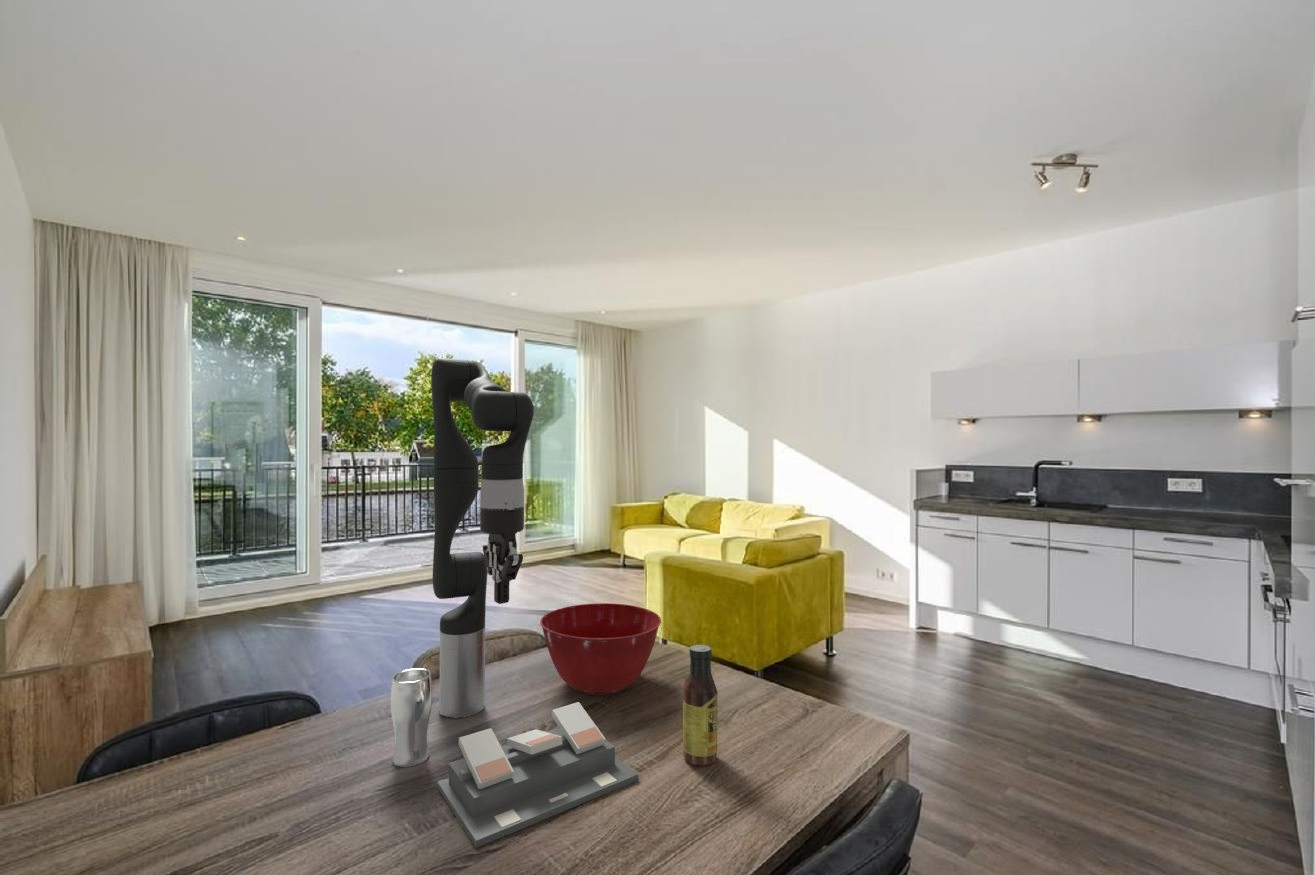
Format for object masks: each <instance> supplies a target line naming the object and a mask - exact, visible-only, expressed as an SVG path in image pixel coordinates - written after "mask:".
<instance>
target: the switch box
mask: <svg viewBox="0 0 1315 875" xmlns="http://www.w3.org/2000/svg"><path fill="white" fill-rule="evenodd" d="M597 728H598V729H599V730H600V727H598V726H597ZM546 732H547V733H551V734H554V735H558V736H562V745H559V746H556V747H553V748H550V749H547V750H544V751H541V752H538V753H535V754H532V755H531V754H529V753H526V752H523V751H520V750H518V749H515V748H512V747H509V746H508V744H507V743H506V744H504V745H500V746H501V747H502V749H503V751H504V753H505V755H506V757H507V759H508V761H509V763H510V765H511V767H512V768H513V770H514V774H513V778H510V779H507V780H505V781H502V782H499V783H496V784H493V785H491V786H488V787H485V788H482V789H480V790H479V789H478V786H477V784H476V782H475V780H474V778H473V775H472V773H471V771H470V769H469V766H468V764H467V762H466V760H465V757H463V758H460V759H457V760H454V761H451V762H449V763H447V764H448V769H447V770H448V775H447V776H448V777H446V778H443V779H441V780H437V782H436V784H437V785H436V786H437V787H436V788H437V790H438V791H439V793H440V794H441V796H442V797H443V799H444V800H445V802H446V804H447V805H448V806H449V808H450V810H451V811H452V813H453V814H454V817H456V819H457V821H458V822H459V823H460V826H461V827H462V828H463V830H464V831H465V833H466V834H467V836H468V837H469V839H470V841H471V843H474V844H473V846H475V848H476V847H477V848H479V847H481V846H484V845H486V844H488V843H491V842H493V841H496V840H498V839H500V838H503V837H505V836H504V835H506V836H508V835H510V834H513V833H515V832H517V830H518V831H519V830H522V829H524V828H527V827H530V826H531V825H532V826H533V825H534V824H537V823H538V822H542V821H544V820H546V819H548V818H552V817H553V816H556V815H559V814H560V813H563V812H565V811H568V810H570V809H573V808H575V807H577V806H579V805H583V804H584V803H588V802H590V801H591V800H594V799H596V798H598V797H602V796H603V795H605V794H609V793H610V792H611V793H612V792H613V791H616V790H618V789H621V788H623V787H624V786H627V785H631V784H632V783H635V782H637V781H639V773H637V772H636V771H635V770H633V769H632V768H631V767H630V766H628V764H626V763H625V762H623V761H622V760H621V759H620V758H618V757H617V756H616V747H615V745H613V744H612V742H609V741H608V740H605V745H602V746H599V747H597V748H594V749H591V750H588V751H585V752H583V753H580V754H576V752H575V751H574V749H573V748H572V746H571V745H570V743H569V742H568V740H567V739H566V737H565V735H564V734H563V732H562V731H561V729H560V728H559V727H557V728H553V729H550V730H547V731H546ZM495 839H496V840H495Z"/></svg>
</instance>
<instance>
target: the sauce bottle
mask: <svg viewBox="0 0 1315 875" xmlns="http://www.w3.org/2000/svg"><path fill="white" fill-rule="evenodd" d="M688 653H689V657H690V658H689V659H690V662H689V663H690V667H689V672H690V673H689V674H688V676H687V678H686V679H685V680H684V683H683V701H682V702H683V703H682V749H683V758H684V760H685V761H686V762H687V763H688V764H690V765H693V766H698V767H705V766H708V765H711V764H713V763H714V762H715V761H716V759H717V757H718V756H717V752H718V698H719V697H718V696H719V695H718V694H719V693H718V689H717V686H716V684H715V681H714V678H713V675H712V667H711V666H712V665H711V663H712V661H711V658H712V654H713V653H712V647H710V646H709V645H705V644H695V645H691V646H690V647H689V652H688Z"/></svg>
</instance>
